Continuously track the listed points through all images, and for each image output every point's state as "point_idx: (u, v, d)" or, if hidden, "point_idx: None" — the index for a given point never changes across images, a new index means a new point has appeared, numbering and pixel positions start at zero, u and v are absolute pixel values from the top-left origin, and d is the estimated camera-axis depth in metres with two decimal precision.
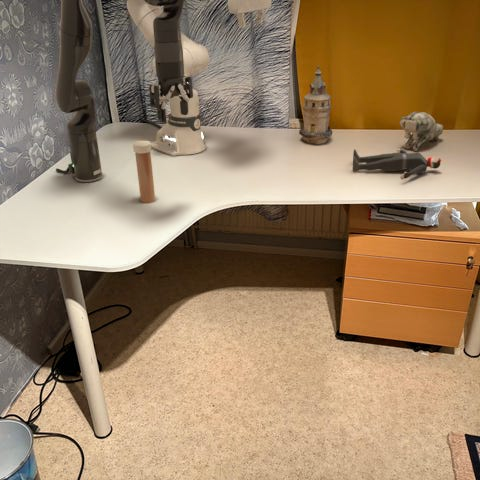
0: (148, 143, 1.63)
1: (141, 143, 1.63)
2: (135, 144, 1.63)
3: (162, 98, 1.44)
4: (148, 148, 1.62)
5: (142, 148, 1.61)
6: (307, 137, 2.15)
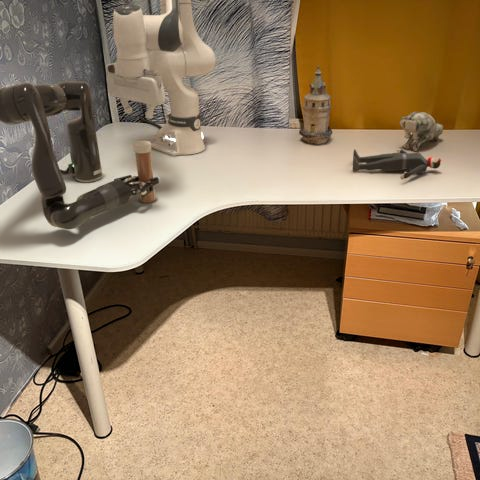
0: (148, 143, 1.63)
1: (141, 143, 1.63)
2: (135, 144, 1.63)
3: None
4: (148, 148, 1.62)
5: (142, 148, 1.61)
6: (307, 137, 2.15)
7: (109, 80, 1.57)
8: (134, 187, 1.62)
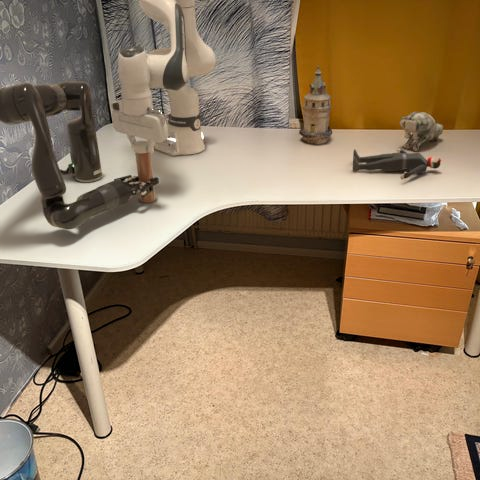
0: (148, 143, 1.63)
1: (141, 143, 1.63)
2: (135, 144, 1.62)
3: None
4: None
5: (142, 148, 1.61)
6: (307, 137, 2.15)
7: (114, 116, 1.62)
8: (134, 187, 1.62)
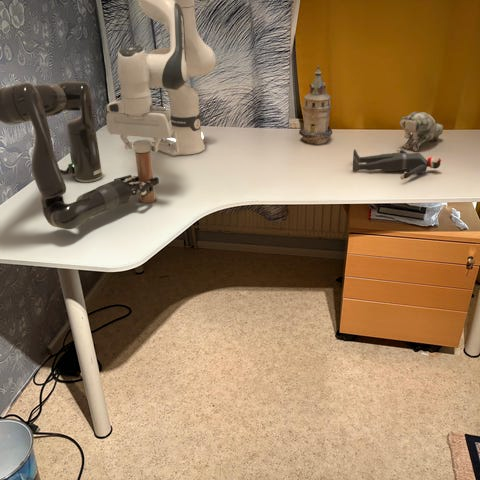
0: (145, 140, 1.65)
1: (141, 142, 1.63)
2: (140, 144, 1.61)
3: None
4: None
5: (149, 145, 1.63)
6: (307, 137, 2.15)
7: (109, 119, 1.60)
8: (134, 187, 1.62)
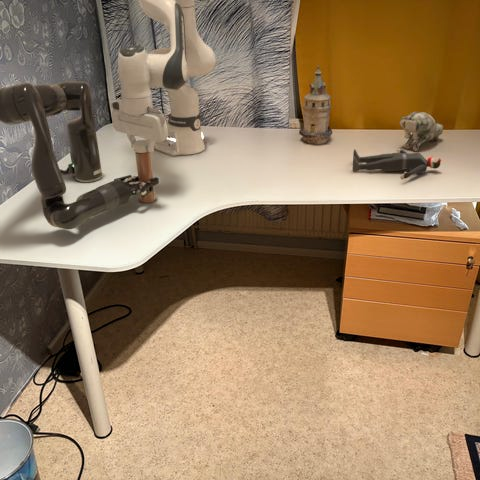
0: (146, 140, 1.65)
1: (141, 142, 1.63)
2: (140, 145, 1.61)
3: None
4: None
5: None
6: (307, 137, 2.15)
7: (113, 116, 1.62)
8: (134, 187, 1.62)
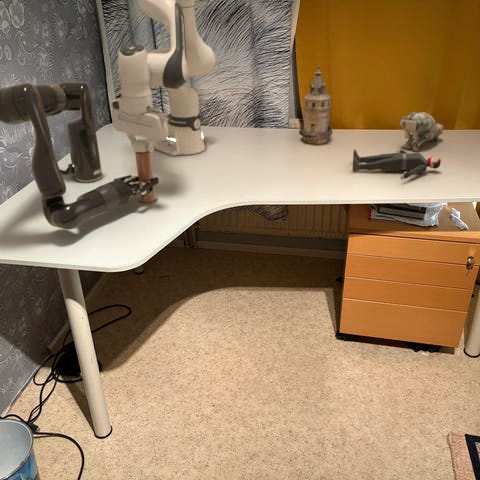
0: (138, 140, 1.65)
1: (142, 142, 1.63)
2: (147, 142, 1.62)
3: None
4: None
5: None
6: (307, 137, 2.15)
7: (114, 115, 1.62)
8: (134, 187, 1.62)
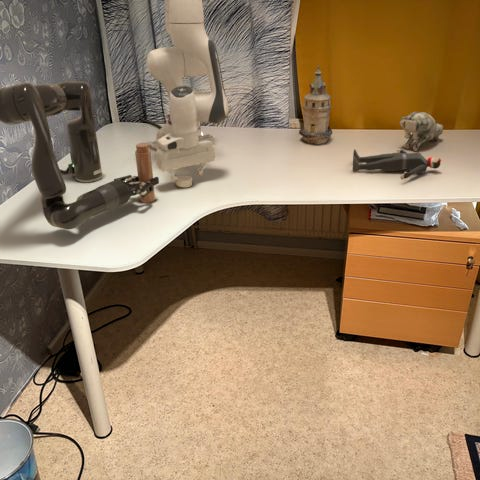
0: (178, 178, 1.81)
1: (184, 178, 1.81)
2: (188, 177, 1.82)
3: None
4: None
5: None
6: (307, 137, 2.15)
7: (164, 157, 1.72)
8: (134, 187, 1.62)
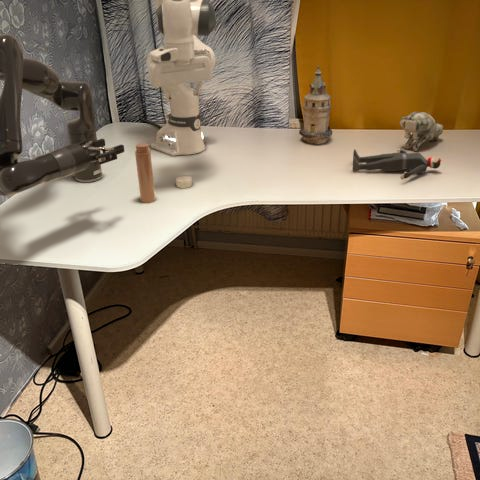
0: (177, 179, 1.81)
1: (184, 178, 1.81)
2: (188, 177, 1.82)
3: None
4: None
5: None
6: (307, 137, 2.15)
7: (157, 70, 1.58)
8: (93, 152, 1.46)
